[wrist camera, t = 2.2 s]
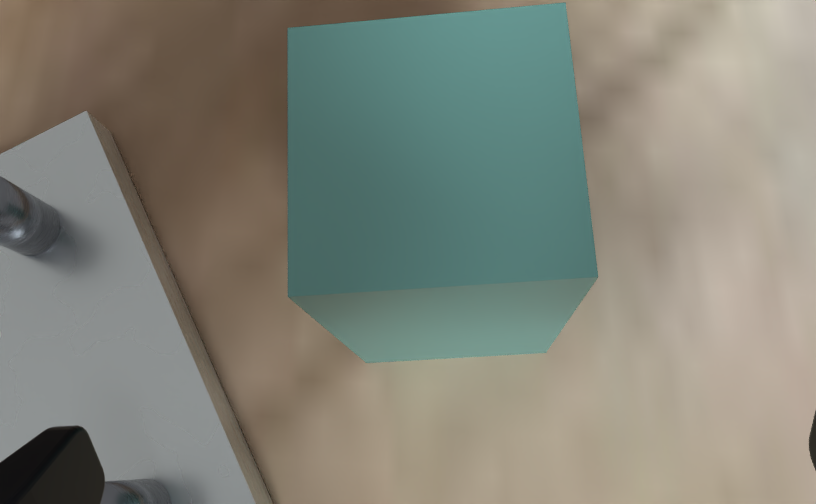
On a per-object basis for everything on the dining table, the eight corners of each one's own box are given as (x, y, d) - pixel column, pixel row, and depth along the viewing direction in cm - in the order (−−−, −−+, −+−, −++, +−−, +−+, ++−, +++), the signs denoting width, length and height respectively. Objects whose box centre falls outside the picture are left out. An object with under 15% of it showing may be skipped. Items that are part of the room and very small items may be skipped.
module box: (545, 352, 20) (598, 277, 12) (366, 363, 21) (287, 297, 12) (529, 183, 22) (565, 2, 13) (361, 195, 22) (287, 28, 13)
